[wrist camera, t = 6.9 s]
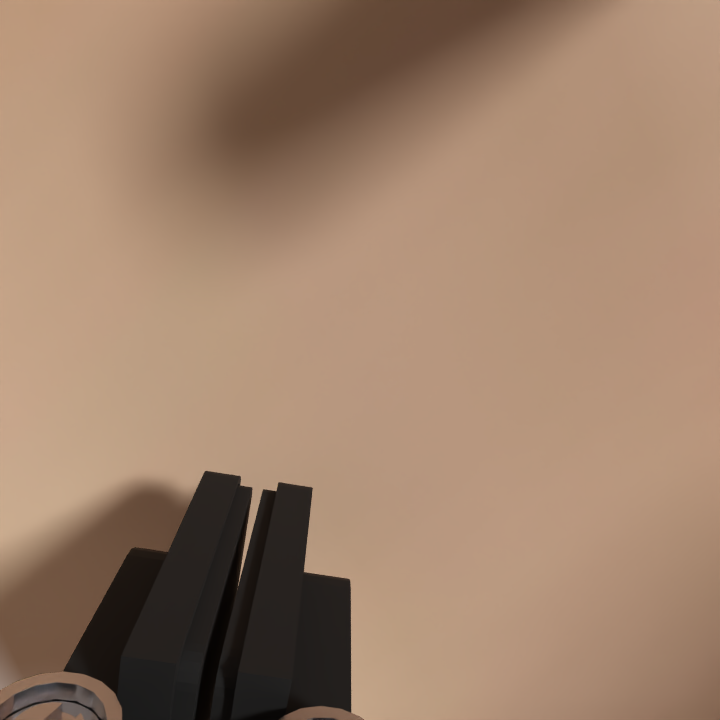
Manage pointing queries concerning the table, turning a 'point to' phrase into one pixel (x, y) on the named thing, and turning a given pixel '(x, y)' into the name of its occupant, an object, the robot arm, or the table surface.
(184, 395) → the table surface
